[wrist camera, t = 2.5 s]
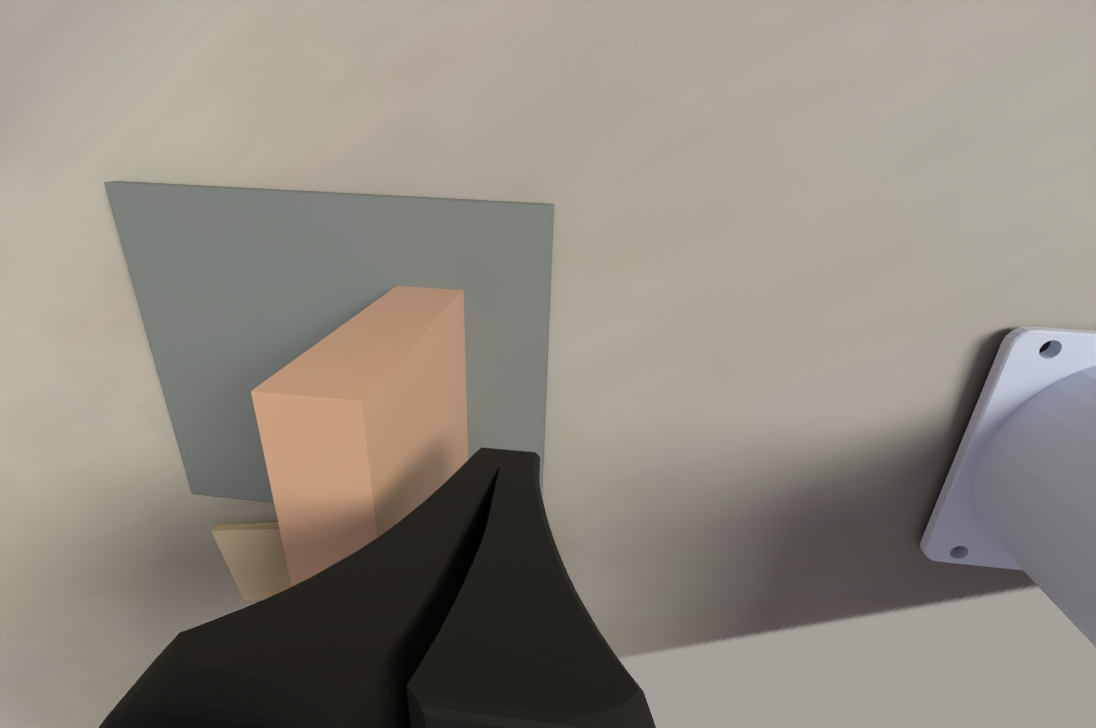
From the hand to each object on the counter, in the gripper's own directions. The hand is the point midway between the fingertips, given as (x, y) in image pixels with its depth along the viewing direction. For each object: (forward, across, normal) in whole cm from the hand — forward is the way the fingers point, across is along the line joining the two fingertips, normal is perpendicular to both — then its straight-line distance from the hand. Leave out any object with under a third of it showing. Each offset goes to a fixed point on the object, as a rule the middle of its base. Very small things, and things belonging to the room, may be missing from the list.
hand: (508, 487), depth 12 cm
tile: (+5, +3, 0) cm, 6 cm away
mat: (+6, +6, 0) cm, 8 cm away
